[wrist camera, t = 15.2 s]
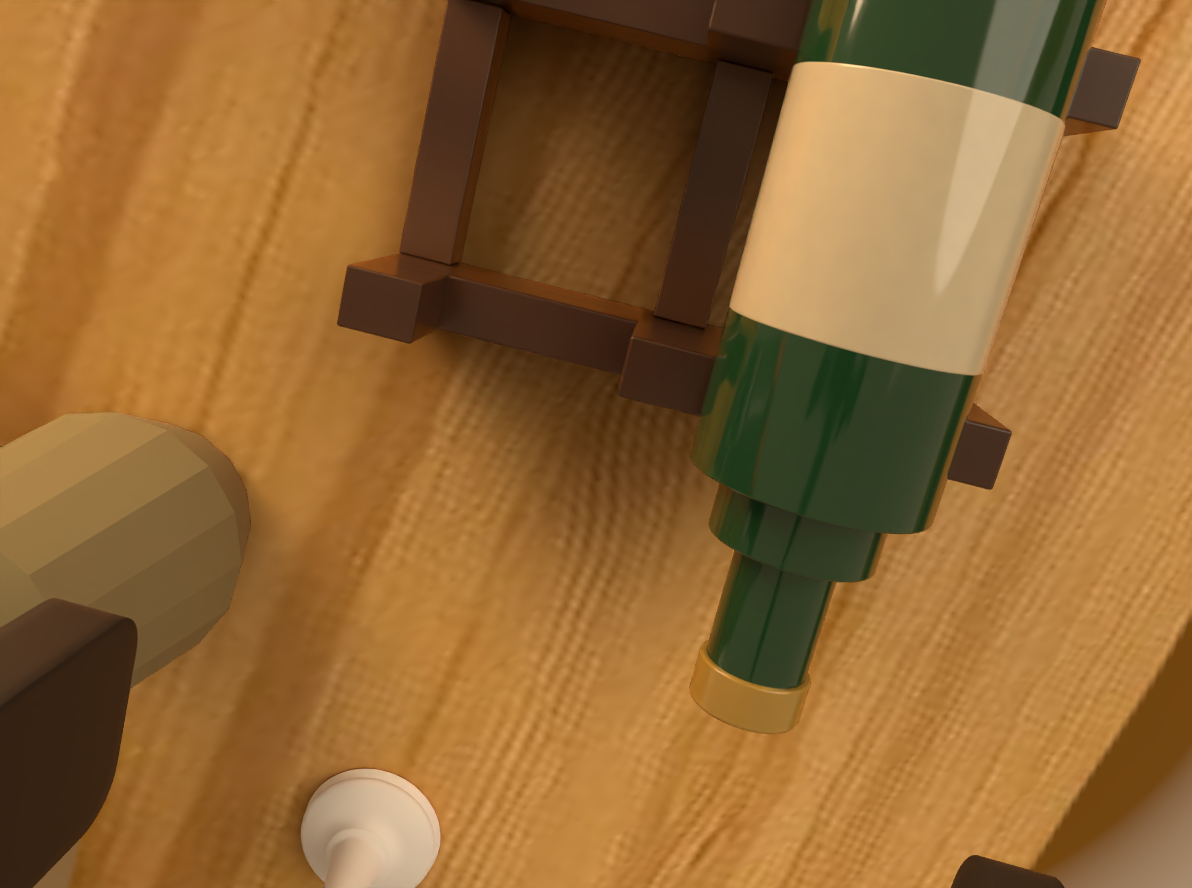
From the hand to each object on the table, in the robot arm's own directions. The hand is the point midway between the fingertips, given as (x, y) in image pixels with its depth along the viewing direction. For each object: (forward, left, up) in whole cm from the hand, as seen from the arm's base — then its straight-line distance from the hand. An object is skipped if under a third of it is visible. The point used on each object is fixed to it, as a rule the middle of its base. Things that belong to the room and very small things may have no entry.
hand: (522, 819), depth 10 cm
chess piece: (-18, +5, -25) cm, 31 cm away
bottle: (+3, -5, -20) cm, 20 cm away
